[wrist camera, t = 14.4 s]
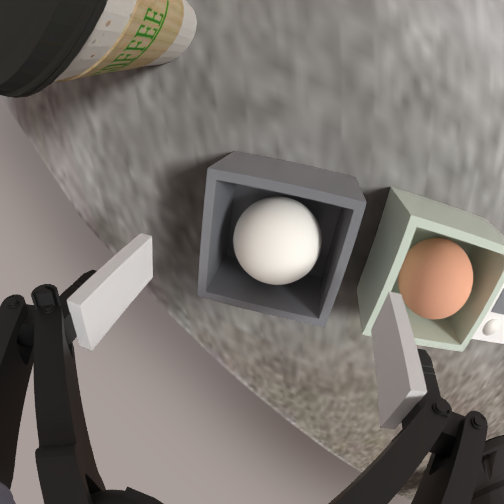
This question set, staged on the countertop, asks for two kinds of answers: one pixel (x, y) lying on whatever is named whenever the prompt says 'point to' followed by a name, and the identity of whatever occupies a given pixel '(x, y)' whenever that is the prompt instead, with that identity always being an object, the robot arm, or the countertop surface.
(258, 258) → the ball white
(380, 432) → the countertop surface
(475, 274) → the sage open box
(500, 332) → the card
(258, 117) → the countertop surface
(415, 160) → the countertop surface
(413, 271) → the ball terracotta
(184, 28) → the coffee cup
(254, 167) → the grey open cubby box
